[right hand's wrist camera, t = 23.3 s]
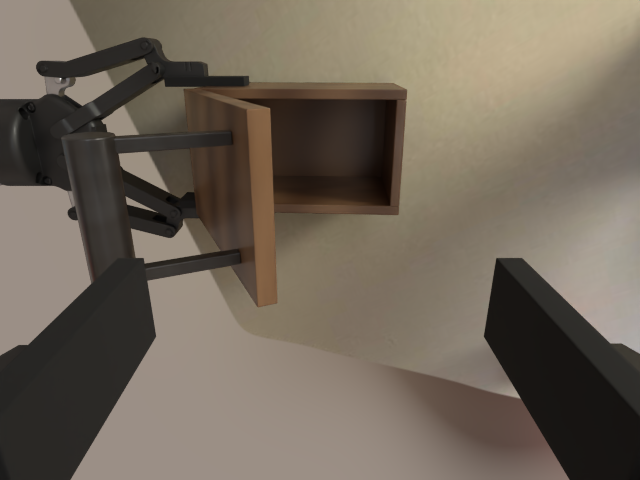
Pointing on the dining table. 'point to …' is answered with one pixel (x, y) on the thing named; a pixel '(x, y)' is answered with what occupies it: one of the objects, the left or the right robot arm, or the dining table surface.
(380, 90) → the chest
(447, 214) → the dining table surface
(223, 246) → the lid
